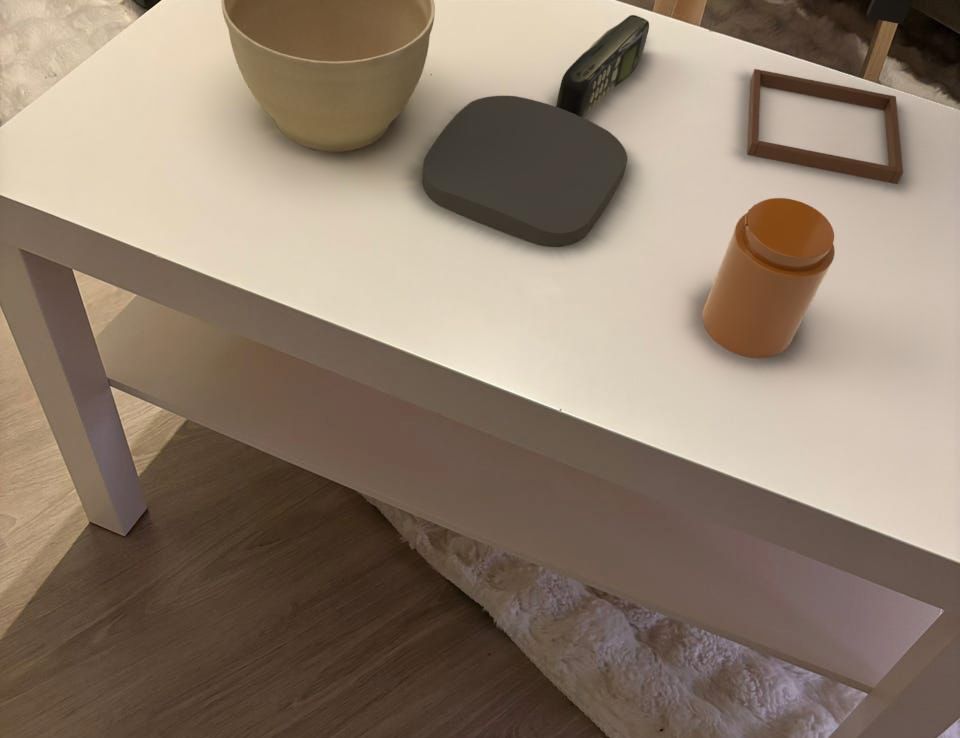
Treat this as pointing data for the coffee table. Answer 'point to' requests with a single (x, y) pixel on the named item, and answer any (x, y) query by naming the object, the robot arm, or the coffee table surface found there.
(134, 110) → the coffee table surface
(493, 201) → the media streaming box
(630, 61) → the mobile phone
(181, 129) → the coffee table surface
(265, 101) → the planter bowl
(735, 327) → the jar
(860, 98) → the picture frame
